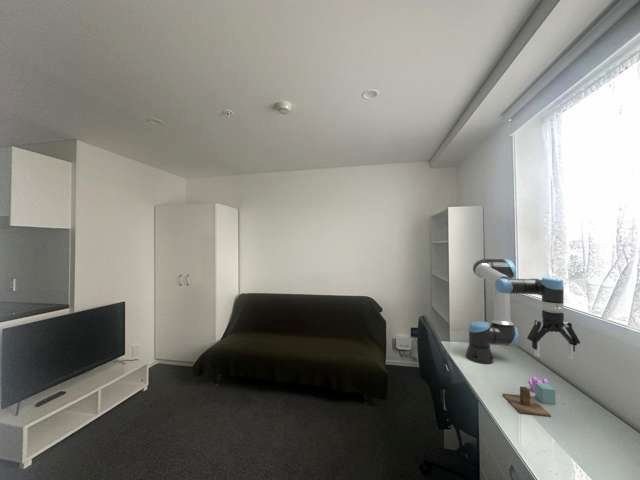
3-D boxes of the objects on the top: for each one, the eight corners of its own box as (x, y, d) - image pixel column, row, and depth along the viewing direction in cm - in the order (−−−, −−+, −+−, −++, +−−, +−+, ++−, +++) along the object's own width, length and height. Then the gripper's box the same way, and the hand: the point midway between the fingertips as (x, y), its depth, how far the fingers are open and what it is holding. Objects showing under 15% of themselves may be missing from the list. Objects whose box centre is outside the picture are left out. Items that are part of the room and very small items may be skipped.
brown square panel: (502, 395, 126) (502, 379, 126) (529, 397, 124) (529, 381, 124) (519, 413, 112) (519, 395, 112) (550, 416, 110) (550, 398, 110)
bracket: (548, 395, 126) (548, 381, 126) (533, 392, 129) (533, 378, 129) (541, 383, 138) (541, 370, 138) (528, 380, 140) (528, 367, 140)
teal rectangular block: (535, 396, 125) (535, 382, 125) (547, 397, 124) (547, 383, 124) (542, 402, 120) (542, 388, 120) (555, 404, 119) (555, 389, 119)
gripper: (527, 311, 118) (528, 358, 117) (590, 314, 114) (591, 362, 113) (518, 308, 125) (518, 351, 124) (576, 310, 121) (577, 355, 121)
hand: (553, 357), depth 119 cm, fingers open, 13 cm apart
